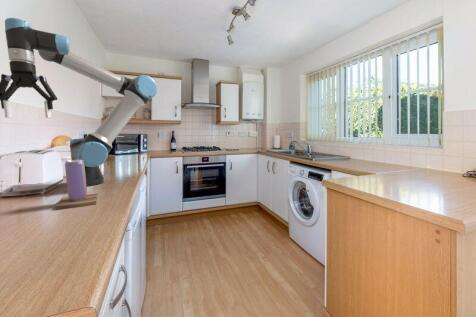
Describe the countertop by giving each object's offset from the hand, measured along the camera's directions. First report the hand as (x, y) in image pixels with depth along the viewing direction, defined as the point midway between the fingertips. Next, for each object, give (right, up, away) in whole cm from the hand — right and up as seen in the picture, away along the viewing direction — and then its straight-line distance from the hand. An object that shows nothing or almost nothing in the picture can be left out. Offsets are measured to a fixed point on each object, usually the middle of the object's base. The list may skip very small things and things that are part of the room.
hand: (29, 117), depth 94 cm
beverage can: (+23, -32, -5) cm, 40 cm away
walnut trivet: (+23, -33, -5) cm, 41 cm away
